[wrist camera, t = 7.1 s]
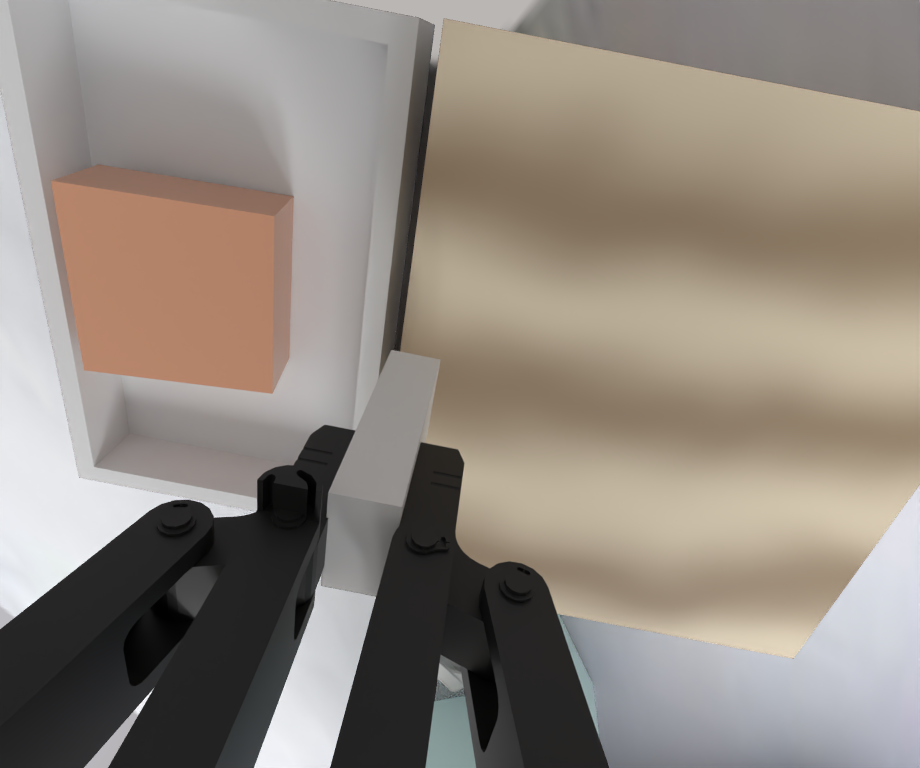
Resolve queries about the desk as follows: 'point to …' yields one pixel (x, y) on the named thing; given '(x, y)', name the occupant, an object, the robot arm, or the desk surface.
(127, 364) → the tile
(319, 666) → the desk surface
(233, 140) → the box
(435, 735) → the l-shaped corner panel
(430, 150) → the plate
